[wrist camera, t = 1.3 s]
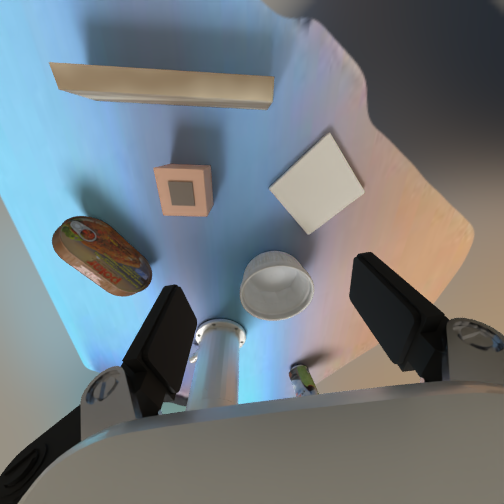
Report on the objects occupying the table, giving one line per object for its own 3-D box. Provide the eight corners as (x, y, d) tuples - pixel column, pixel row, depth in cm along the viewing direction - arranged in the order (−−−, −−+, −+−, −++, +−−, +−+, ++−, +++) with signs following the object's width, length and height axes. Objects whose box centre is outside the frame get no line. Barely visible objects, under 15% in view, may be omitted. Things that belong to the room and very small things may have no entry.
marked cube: (213, 204, 31) (206, 216, 26) (177, 203, 31) (162, 215, 25) (210, 165, 28) (203, 169, 23) (170, 163, 28) (152, 168, 22)
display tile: (306, 233, 34) (308, 235, 33) (268, 187, 30) (269, 189, 29) (361, 191, 31) (365, 192, 30) (327, 133, 26) (330, 132, 25)
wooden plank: (267, 110, 25) (272, 101, 20) (96, 100, 24) (58, 89, 19) (268, 90, 24) (274, 76, 19) (90, 79, 23) (48, 62, 18)
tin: (159, 270, 37) (138, 301, 30) (148, 277, 38) (125, 309, 31) (92, 208, 30) (44, 227, 23) (79, 217, 31) (29, 239, 24)
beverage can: (286, 364, 56) (296, 414, 45) (310, 360, 55) (326, 409, 45) (289, 374, 59) (299, 424, 48) (312, 370, 58) (327, 419, 48)
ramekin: (279, 303, 43) (284, 329, 37) (228, 282, 39) (226, 306, 33) (316, 262, 38) (330, 285, 32) (262, 232, 34) (266, 251, 28)
